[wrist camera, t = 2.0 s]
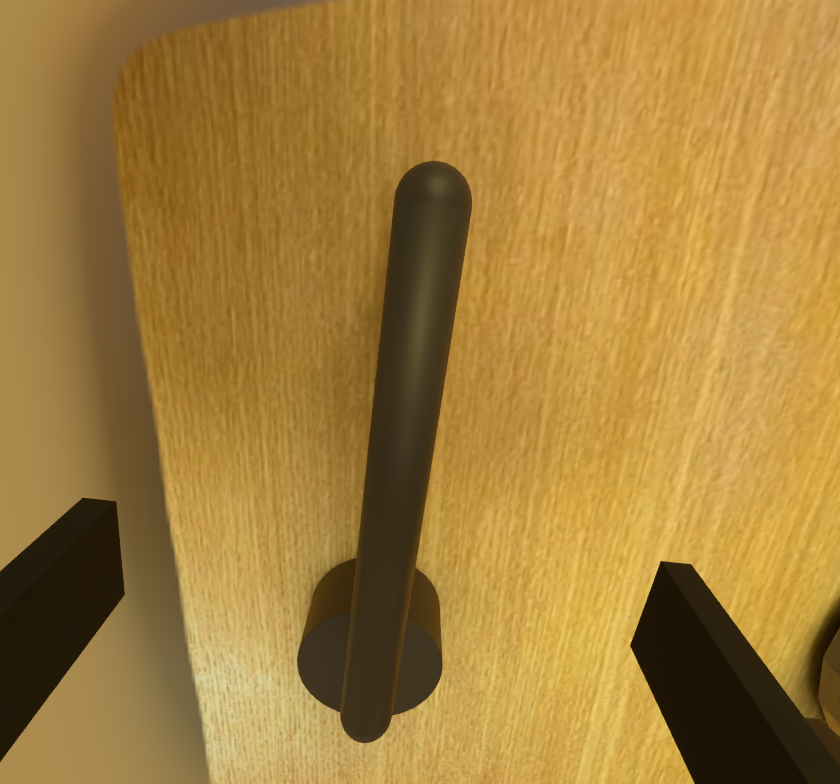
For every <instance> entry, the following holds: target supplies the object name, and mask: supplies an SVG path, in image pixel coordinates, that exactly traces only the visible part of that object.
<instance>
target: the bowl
mask: <svg viewBox="0 0 840 784" xmlns="http://www.w3.org/2000/svg"><path fill="white" fill-rule="evenodd" d="M818 698H819V702H820V705H821V707H822V710H823V713H824V715H825V718H826V721H827V724H828V726H829V727H830V728H831V729H832V730H833V731H834V732H835V733H836V734H837V735H839V736H840V627H839V629H838V631H837V633H836V635H835V636H834V638H833V640H832V642H831V644H830V645H829V647H828V649H827V651H826V653H825V654H824V657H823V662H822V669H821V677H820V685H819V692H818Z"/></svg>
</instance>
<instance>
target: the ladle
mask: <svg viewBox="0 0 840 784" xmlns="http://www.w3.org/2000/svg"><path fill="white" fill-rule="evenodd" d="M471 210H472V196H471V191H470V188H469V185H468V183H467V181H466V179H465V178H464V176H463V175H462V174H461V173H460V172H459V171H458V170H457V169H456V168H454V167H453V166H451V165H449V164H447V163H444V162H439V161H429V162H423V163H421V164H418V165H416V166H414V167H413V168H412V169H410V170H409V171H408V172H407V173H406V174H405V175H404V176H403V178H402V179H401V181H400V182H399V184H398V187H397V189H396V194H395V199H394V208H393V218H392V227H391V237H390V246H389V256H388V265H387V275H386V284H385V294H384V303H383V313H382V322H381V332H380V341H379V351H378V360H377V370H376V379H375V389H374V398H373V408H372V417H371V427H370V436H369V446H368V455H367V465H366V474H365V484H364V493H363V503H362V512H361V522H360V531H359V541H358V550H357V558H356V559H353V560H349V561H347V562H344V563H342V564H340V565H338V566H336V567H335V568H333V569H332V570H331V571H329V572H328V573H327V574H326V575H325V576H324V577H323V578H322V579H321V581H320V582H319V583H318V585H317V587H316V589H315V592H314V595H313V598H312V602H311V606H310V609H309V613H308V617H307V621H306V625H305V628H304V632H303V636H302V640H301V643H300V647H299V651H298V657H297V666H298V671H299V675H300V677H301V680H302V682H303V684H304V685H305V687H306V688H307V690H308V691H309V692H310V693H311V694H312V695H313V696H314V697H315V698H316V699H317V700H319V701H320V702H321V703H323V704H324V705H326V706H328V707H329V708H331V709H334V710H336V711H338V712H340V715H341V723H342V726H343V728H344V730H345V732H346V733H347V734H348V735H349V736H350V737H351V738H352V739H353V740H355V741H357V742H361V743H369V742H373V741H375V740H377V739H378V738H380V737H381V736H382V735H383V734H384V733H385V732H386V730H387V729H388V727H389V724H390V722H391V718H392V715H396V714H400V713H403V712H405V711H408V710H410V709H412V708H414V707H416V706H417V705H419V704H420V703H422V702H423V701H424V700H425V699H427V698H428V697H429V696H430V694H431V693H432V692H433V691H434V689H435V688H436V686H437V684H438V682H439V680H440V677H441V673H442V645H441V625H440V605H439V599H438V595H437V593H436V590H435V589H434V587H433V585H432V584H431V582H430V581H429V580H428V579H427V577H426V576H424V575H423V574H422V573H421V572H420V571H419V570H417V569H416V568H415V566H416V560H417V553H418V547H419V541H420V534H421V528H422V522H423V515H424V509H425V503H426V496H427V490H428V484H429V477H430V471H431V464H432V458H433V452H434V445H435V439H436V433H437V426H438V420H439V414H440V407H441V401H442V395H443V388H444V382H445V375H446V369H447V363H448V356H449V350H450V344H451V337H452V331H453V325H454V318H455V312H456V306H457V299H458V293H459V286H460V280H461V274H462V267H463V261H464V255H465V248H466V242H467V236H468V229H469V223H470V217H471Z"/></svg>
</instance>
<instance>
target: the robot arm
mask: <svg viewBox="0 0 840 784" xmlns="http://www.w3.org/2000/svg"><path fill="white" fill-rule="evenodd" d="M124 594H125V593H124V581H123V571H122V560H121V549H120V538H119V527H118V516H117V505H116V501H107V500H97V499H89V498H82V499H81V500H80V501H79V502H77V503H76V504H75V505H74V506H73V507H72V508H71V509H70V510H69V511H67V512H66V513H65V514H64V515H63V516H62V517H61V518H60V519H58V520H57V521H56V522H55V523H54V524H53V525H52V526H51V527H50V528H49V529H47V530H46V531H45V532H44V533H43V534H42V535H40V537H38V538H37V539H36V540H35V541H34V542H33V543H32V544H30V545H29V546H28V547H27V548H26V549H25V550H24V551H23V552H21V553H20V554H19V555H18V556H17V557H16V558H15V559H13V560H12V561H11V562H10V563H9V564H8V565H7V566H6V567H5V568H3V569H2V570H1V571H0V761H1V760H2V759H3V757H4V756H5V755H6V753H7V752H8V751H9V749H10V748H11V747H12V745H13V744H14V743H15V741H16V740H17V738H18V737H19V736H20V735H21V733H22V732H23V730H24V729H25V728H26V727H27V725H28V724H29V722H30V721H31V720H32V718H33V717H34V716H35V714H36V713H37V712H38V710H39V709H40V708H41V706H42V705H43V704H44V702H45V701H46V700H47V698H48V697H49V695H50V694H51V693H52V692H53V690H54V689H55V688H56V686H57V685H58V684H59V682H60V681H61V679H62V678H63V677H64V675H65V674H66V673H67V671H68V670H69V669H70V667H71V666H72V664H73V663H74V662H75V661H76V659H77V658H78V657H79V655H80V654H81V652H82V651H83V650H84V649H85V647H86V646H87V645H88V643H89V642H90V640H91V639H92V638H93V636H94V635H95V634H96V632H97V631H98V630H99V628H100V627H101V626H102V624H103V623H104V622H105V620H106V619H107V618H108V616H109V615H110V613H111V612H112V611H113V610H114V608H115V607H116V606H117V604H118V603H119V601H120V600H121V599H122V597H123V596H124ZM630 646H631V649H632V651H633V653H634V655H635V657H636V659H637V661H638V663H639V666H640V668H641V670H642V672H643V674H644V676H645V678H646V681H647V683H648V685H649V687H650V689H651V691H652V693H653V695H654V698H655V700H656V702H657V704H658V706H659V708H660V710H661V713H662V715H663V717H664V719H665V721H666V723H667V725H668V728H669V730H670V732H671V734H672V736H673V738H674V740H675V742H676V745H677V747H678V749H679V751H680V753H681V755H682V757H683V760H684V762H685V764H686V766H687V768H688V770H689V772H690V775H691V777H692V779H693V781H694V783H695V784H840V736H839V735H837V734H836V733H835V732H834V731H833V730H832V729H831V728H830V727H828V726H827V725H826V724H825V723H824V722H823V721H822V720H821V719H811V718H804V717H803V715H802V714H801V713H800V711H799V710H798V709H797V707H796V706H795V705H794V703H793V702H792V700H791V699H790V698H789V696H788V695H787V694H786V692H785V691H784V690H783V688H782V687H781V686H780V684H779V683H778V681H777V680H776V679H775V677H774V676H773V675H772V673H771V672H770V671H769V669H768V668H767V667H766V665H765V664H764V663H763V661H762V660H761V658H760V657H759V656H758V654H757V653H756V652H755V650H754V649H753V648H752V646H751V645H750V644H749V642H748V641H747V639H746V638H745V637H744V635H743V634H742V633H741V631H740V630H739V629H738V627H737V626H736V625H735V623H734V622H733V621H732V619H731V618H730V616H729V615H728V614H727V612H726V611H725V610H724V608H723V607H722V606H721V604H720V603H719V602H718V600H717V599H716V597H715V596H714V595H713V593H712V592H711V591H710V589H709V588H708V587H707V585H706V584H705V583H704V581H703V580H702V578H701V577H700V576H699V574H698V573H697V572H696V570H695V569H694V568H693V566H692V565H691V564H683V563H674V562H665V561H661V562H660V565H659V568H658V571H657V573H656V576H655V579H654V582H653V584H652V587H651V590H650V593H649V595H648V598H647V601H646V604H645V606H644V609H643V612H642V615H641V617H640V620H639V623H638V626H637V628H636V631H635V634H634V637H633V640H632V642H631V645H630Z"/></svg>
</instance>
